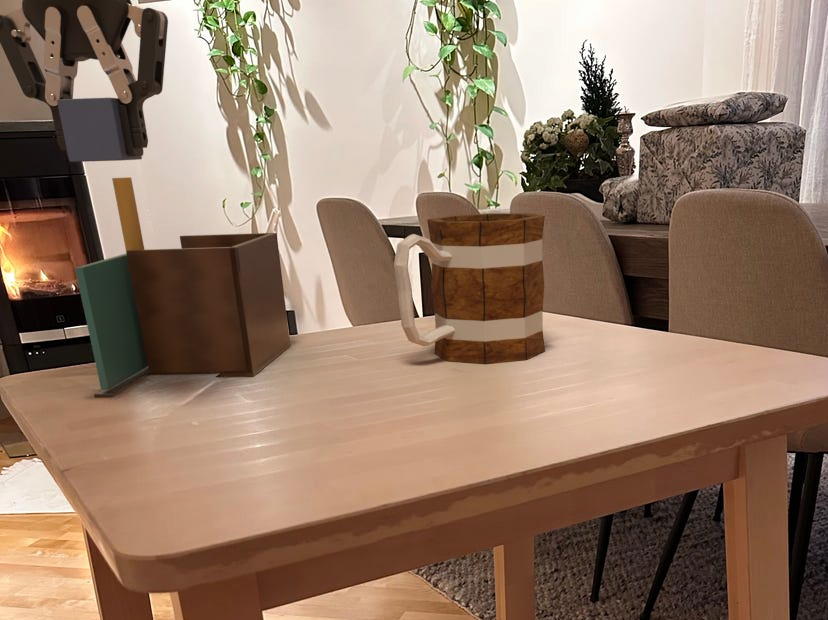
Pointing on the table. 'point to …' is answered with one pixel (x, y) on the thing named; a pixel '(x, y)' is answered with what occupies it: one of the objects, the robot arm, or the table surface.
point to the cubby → (209, 306)
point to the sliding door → (115, 300)
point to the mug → (479, 287)
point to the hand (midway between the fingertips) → (105, 155)
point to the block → (93, 129)
